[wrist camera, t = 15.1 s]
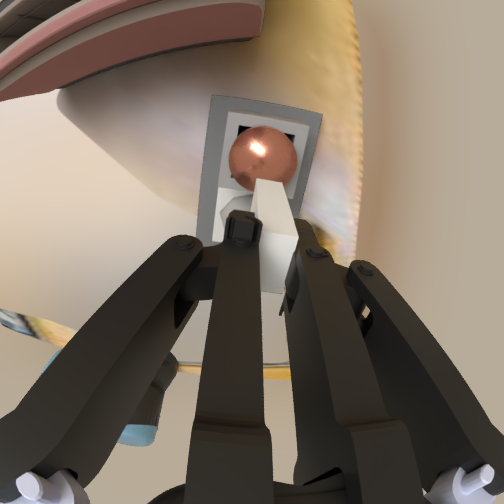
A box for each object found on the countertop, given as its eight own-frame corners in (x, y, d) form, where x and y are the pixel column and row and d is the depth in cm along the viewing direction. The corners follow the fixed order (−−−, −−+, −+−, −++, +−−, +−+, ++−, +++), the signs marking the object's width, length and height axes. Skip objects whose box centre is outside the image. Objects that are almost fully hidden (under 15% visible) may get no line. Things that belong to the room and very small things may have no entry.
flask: (257, 184, 36) (258, 215, 27) (281, 227, 39) (289, 268, 31) (210, 209, 38) (198, 246, 29) (237, 248, 41) (233, 292, 33)
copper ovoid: (281, 174, 34) (289, 198, 27) (230, 166, 33) (224, 187, 26) (291, 125, 30) (303, 135, 23) (238, 116, 30) (233, 122, 23)
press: (285, 252, 44) (292, 292, 36) (197, 239, 43) (184, 278, 35) (319, 113, 33) (341, 119, 24) (214, 94, 32) (200, 94, 23)
